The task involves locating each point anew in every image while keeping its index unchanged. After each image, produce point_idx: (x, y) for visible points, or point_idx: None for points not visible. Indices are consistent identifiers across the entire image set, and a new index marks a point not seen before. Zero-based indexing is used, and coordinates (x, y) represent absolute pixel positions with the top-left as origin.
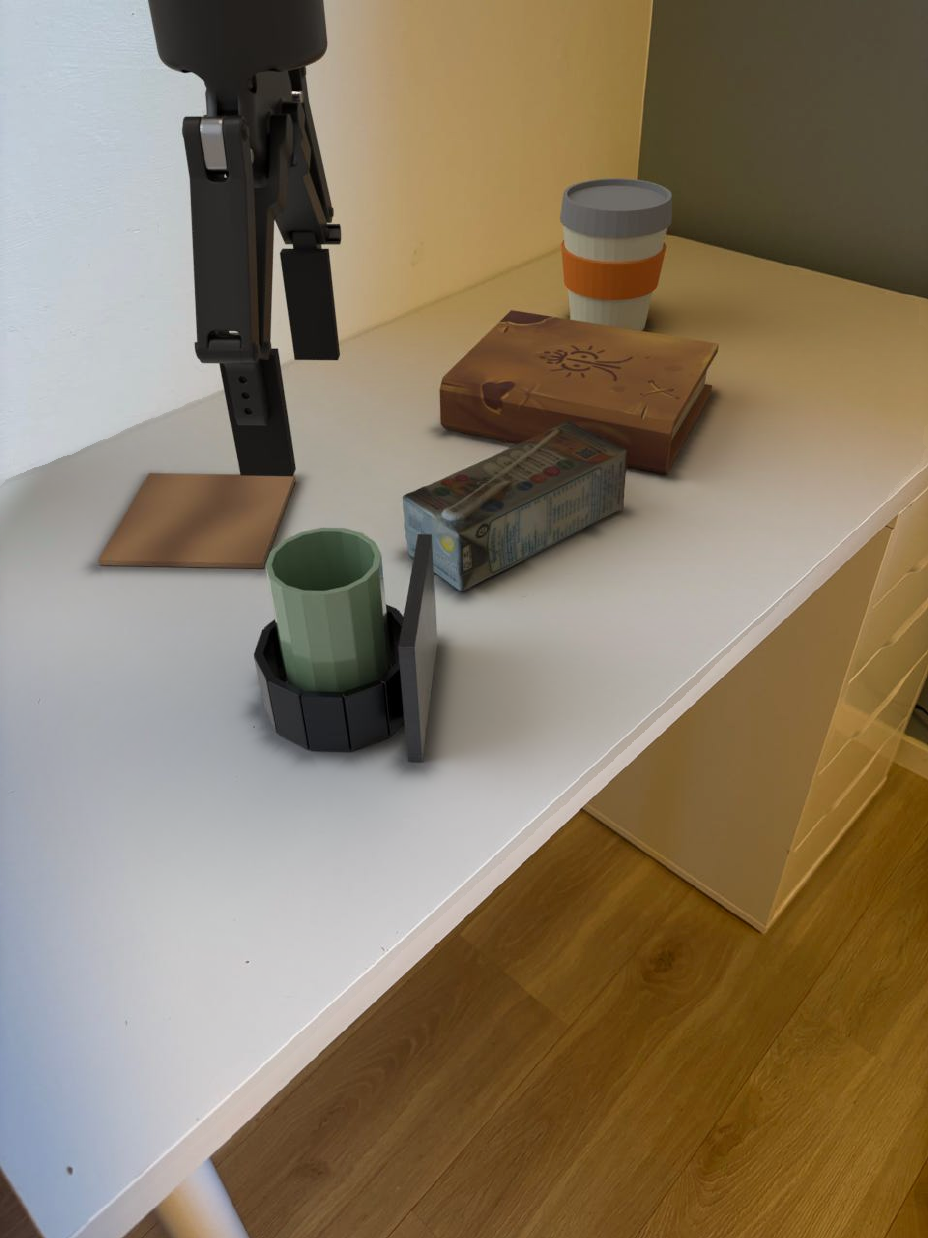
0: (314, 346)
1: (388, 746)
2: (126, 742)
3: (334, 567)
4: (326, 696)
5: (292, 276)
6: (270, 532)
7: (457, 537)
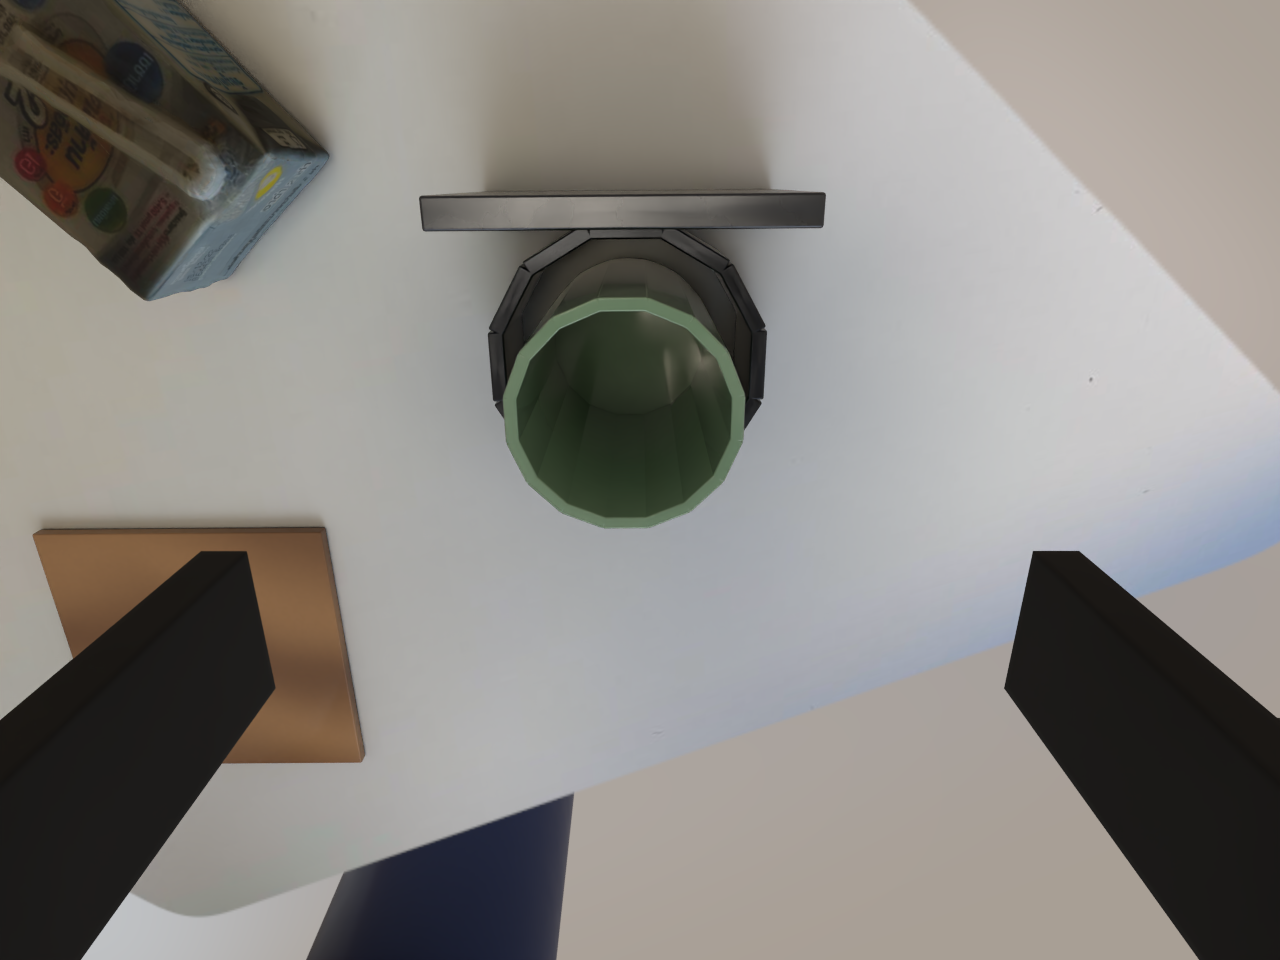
0: (237, 652)
1: (736, 250)
2: (730, 612)
3: (530, 398)
4: (763, 357)
5: (58, 933)
6: (230, 538)
7: (272, 156)
